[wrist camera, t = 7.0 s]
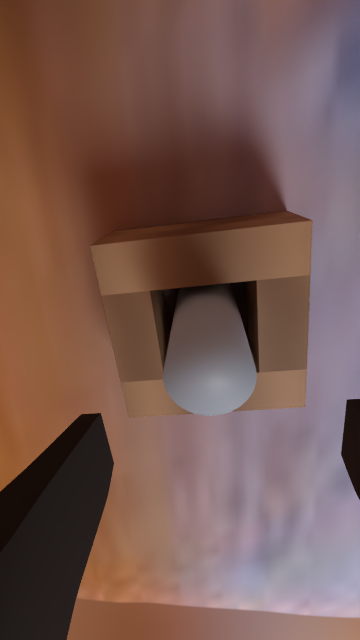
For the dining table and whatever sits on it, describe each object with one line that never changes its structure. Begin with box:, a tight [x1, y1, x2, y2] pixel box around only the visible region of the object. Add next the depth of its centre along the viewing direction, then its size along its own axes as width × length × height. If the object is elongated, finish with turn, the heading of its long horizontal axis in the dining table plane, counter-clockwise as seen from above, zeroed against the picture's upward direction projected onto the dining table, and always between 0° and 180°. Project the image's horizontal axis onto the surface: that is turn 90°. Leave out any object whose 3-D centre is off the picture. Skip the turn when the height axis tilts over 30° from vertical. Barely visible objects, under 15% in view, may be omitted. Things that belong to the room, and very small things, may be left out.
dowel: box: [163, 283, 257, 416], centre depth 15 cm, size 3×3×8 cm
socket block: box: [90, 211, 312, 418], centre depth 17 cm, size 9×9×4 cm
